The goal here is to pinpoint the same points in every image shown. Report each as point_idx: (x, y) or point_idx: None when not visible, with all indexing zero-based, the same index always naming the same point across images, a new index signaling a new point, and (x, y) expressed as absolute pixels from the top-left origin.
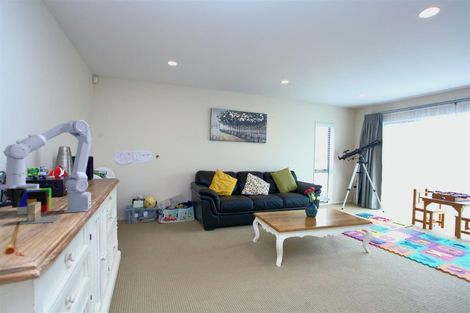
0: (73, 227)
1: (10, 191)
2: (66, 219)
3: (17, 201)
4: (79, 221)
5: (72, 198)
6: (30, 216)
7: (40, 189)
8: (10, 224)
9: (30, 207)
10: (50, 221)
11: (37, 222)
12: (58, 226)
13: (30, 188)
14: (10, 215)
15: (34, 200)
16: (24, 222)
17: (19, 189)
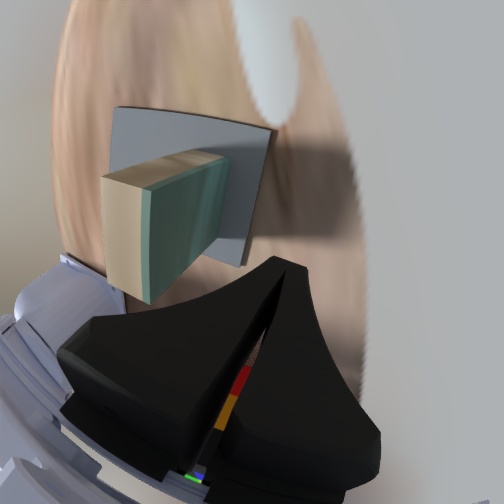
0: (66, 16)
1: (254, 445)
2: (84, 145)
3: (234, 283)
4: (52, 93)
5: (52, 314)
6: (195, 160)
7: (200, 480)
8: (326, 172)
9: (148, 176)
10: (123, 114)
11: (174, 117)
12: (97, 31)
13: (16, 363)
14: None
15: (220, 421)
16: (246, 155)
17: (114, 434)
